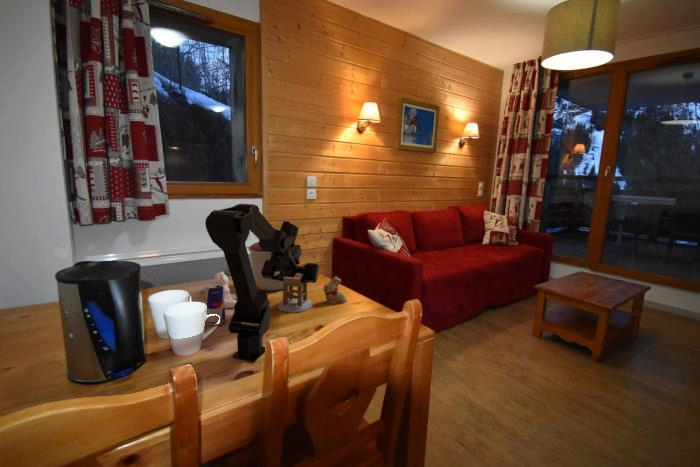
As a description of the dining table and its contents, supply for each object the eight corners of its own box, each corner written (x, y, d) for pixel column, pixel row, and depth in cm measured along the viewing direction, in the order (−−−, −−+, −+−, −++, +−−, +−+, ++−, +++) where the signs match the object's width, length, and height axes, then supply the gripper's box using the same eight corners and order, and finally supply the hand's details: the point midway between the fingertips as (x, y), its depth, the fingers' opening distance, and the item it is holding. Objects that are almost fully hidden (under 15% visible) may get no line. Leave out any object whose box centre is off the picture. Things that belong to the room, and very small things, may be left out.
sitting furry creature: (240, 308, 114) (238, 274, 112) (212, 312, 110) (211, 277, 108) (235, 298, 123) (234, 266, 120) (210, 302, 119) (208, 269, 116)
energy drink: (219, 327, 100) (217, 288, 98) (203, 324, 101) (200, 287, 99) (229, 319, 106) (227, 282, 103) (213, 317, 107) (211, 281, 104)
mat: (304, 314, 110) (303, 313, 110) (271, 309, 113) (271, 308, 113) (318, 301, 121) (318, 300, 121) (288, 297, 125) (288, 295, 125)
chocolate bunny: (327, 297, 125) (328, 272, 123) (348, 300, 123) (348, 274, 121) (322, 303, 120) (322, 276, 118) (343, 306, 118) (344, 278, 116)
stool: (301, 306, 113) (300, 279, 112) (283, 304, 115) (282, 278, 113) (307, 299, 120) (307, 274, 118) (290, 298, 121) (290, 272, 119)
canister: (245, 282, 139) (243, 232, 135) (287, 277, 147) (287, 230, 143) (255, 297, 123) (253, 241, 119) (301, 290, 132) (301, 238, 128)
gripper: (318, 240, 107) (327, 264, 120) (264, 236, 111) (278, 260, 123) (310, 270, 101) (320, 292, 114) (253, 265, 105) (269, 287, 117)
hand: (296, 282), depth 117 cm, fingers closed on stool, 6 cm apart
